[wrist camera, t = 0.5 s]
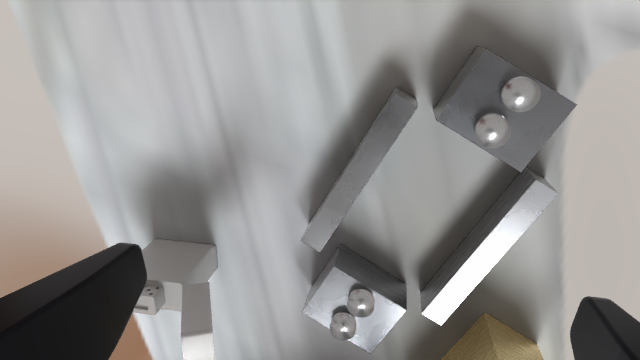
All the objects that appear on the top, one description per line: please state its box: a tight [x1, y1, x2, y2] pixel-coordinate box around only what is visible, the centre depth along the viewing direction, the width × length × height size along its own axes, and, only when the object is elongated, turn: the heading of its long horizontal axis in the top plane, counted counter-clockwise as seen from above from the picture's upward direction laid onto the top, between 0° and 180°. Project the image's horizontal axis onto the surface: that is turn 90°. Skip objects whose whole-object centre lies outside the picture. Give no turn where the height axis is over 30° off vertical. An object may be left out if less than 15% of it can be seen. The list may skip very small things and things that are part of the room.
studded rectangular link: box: [301, 46, 577, 354], centre depth 22 cm, size 16×9×3 cm, turn 150°
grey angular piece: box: [133, 239, 218, 360], centre depth 23 cm, size 7×2×8 cm, turn 89°
